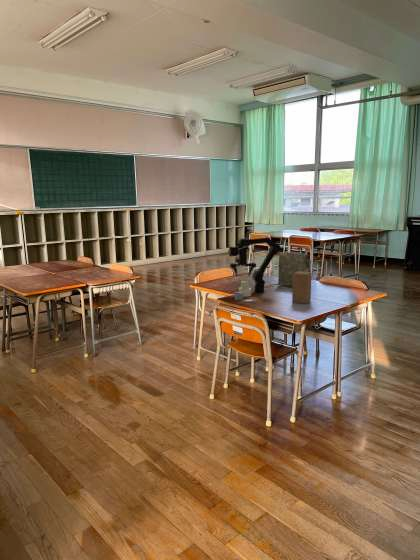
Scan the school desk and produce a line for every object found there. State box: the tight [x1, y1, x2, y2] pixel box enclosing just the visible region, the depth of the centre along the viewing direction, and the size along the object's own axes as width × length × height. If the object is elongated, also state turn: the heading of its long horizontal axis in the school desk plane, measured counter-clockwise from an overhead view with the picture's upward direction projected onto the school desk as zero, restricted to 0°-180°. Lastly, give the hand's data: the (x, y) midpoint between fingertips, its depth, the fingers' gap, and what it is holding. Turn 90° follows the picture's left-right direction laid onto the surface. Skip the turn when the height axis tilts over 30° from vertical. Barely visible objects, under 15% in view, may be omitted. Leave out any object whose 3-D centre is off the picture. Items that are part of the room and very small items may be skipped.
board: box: [242, 298, 257, 303], centre depth 282 cm, size 8×6×1 cm
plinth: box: [238, 287, 252, 297], centre depth 300 cm, size 8×8×5 cm
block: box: [291, 271, 312, 305], centre depth 277 cm, size 10×10×20 cm
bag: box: [277, 251, 311, 288], centre depth 327 cm, size 22×16×27 cm
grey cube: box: [233, 290, 244, 301], centre depth 288 cm, size 5×5×5 cm
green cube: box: [240, 280, 250, 290], centre depth 298 cm, size 5×5×5 cm
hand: (242, 276), depth 305 cm, fingers open, 9 cm apart
